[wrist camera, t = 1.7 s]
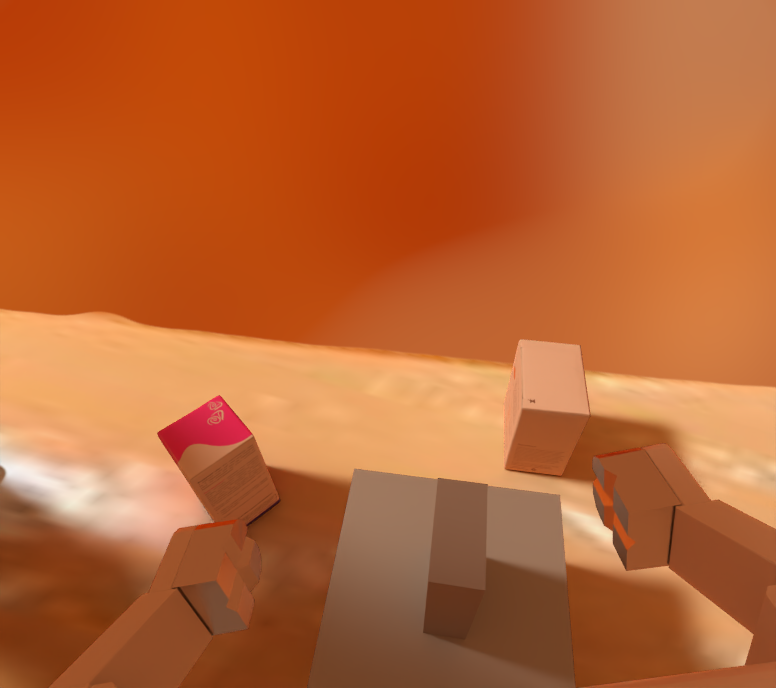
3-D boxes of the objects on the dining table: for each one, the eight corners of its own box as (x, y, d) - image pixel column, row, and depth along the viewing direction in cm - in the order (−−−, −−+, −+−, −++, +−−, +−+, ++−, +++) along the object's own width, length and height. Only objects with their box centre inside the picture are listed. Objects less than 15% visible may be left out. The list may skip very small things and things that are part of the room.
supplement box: (283, 499, 47) (255, 436, 38) (228, 542, 44) (185, 485, 35) (251, 459, 49) (218, 391, 41) (198, 497, 47) (151, 434, 38)
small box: (561, 478, 47) (592, 417, 39) (502, 470, 48) (521, 409, 40) (556, 408, 52) (582, 343, 45) (503, 402, 53) (519, 337, 45)
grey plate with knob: (303, 716, 27) (260, 689, 19) (355, 473, 37) (340, 388, 29) (578, 769, 26) (656, 764, 18) (557, 499, 35) (601, 416, 27)
